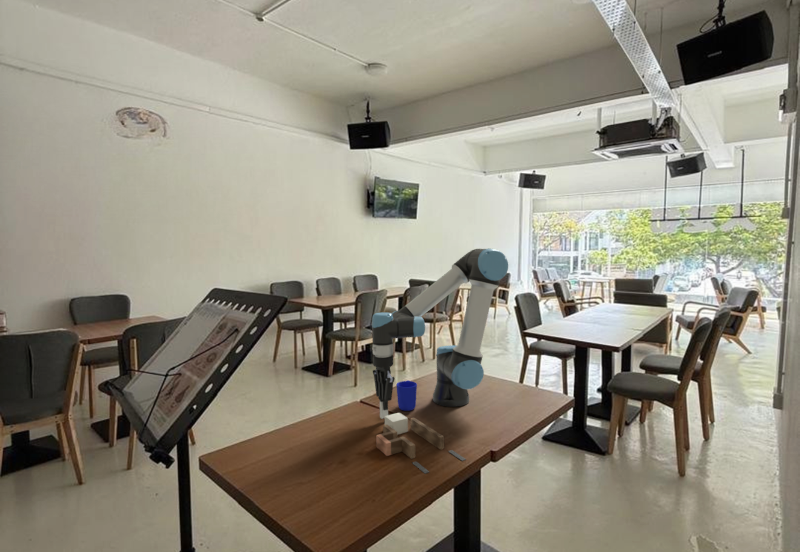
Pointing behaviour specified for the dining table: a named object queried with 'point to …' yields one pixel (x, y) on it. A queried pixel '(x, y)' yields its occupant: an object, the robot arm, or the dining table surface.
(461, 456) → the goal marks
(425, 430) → the wooden bar frame
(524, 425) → the dining table surface
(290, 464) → the dining table surface
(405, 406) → the mug
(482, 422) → the dining table surface
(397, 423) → the block
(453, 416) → the dining table surface
